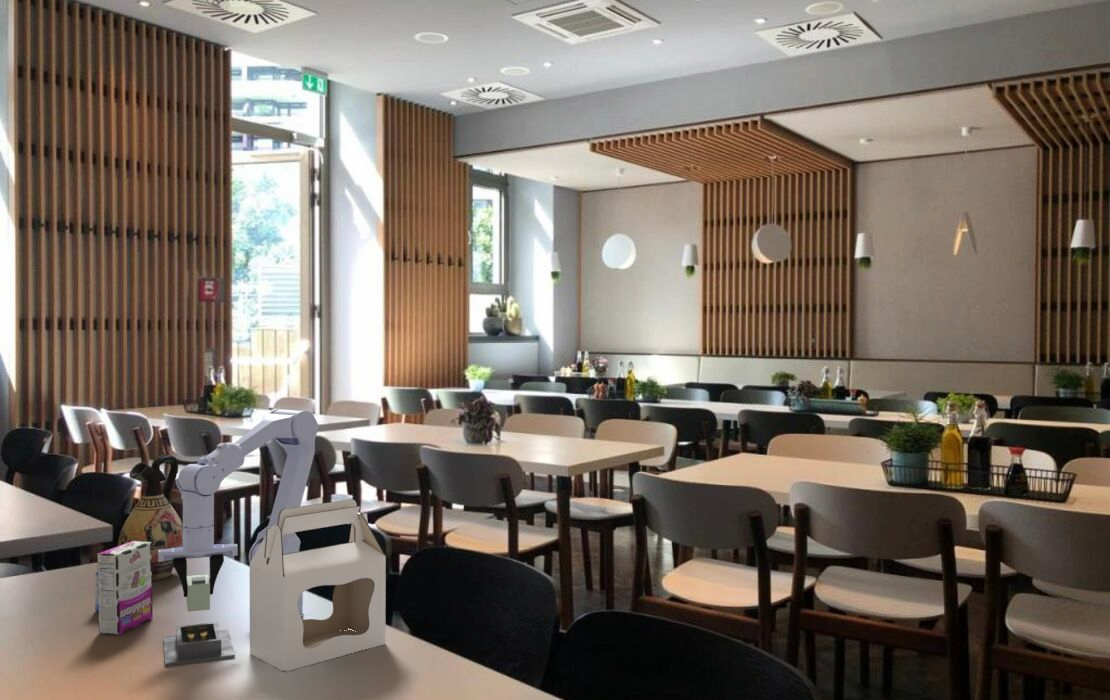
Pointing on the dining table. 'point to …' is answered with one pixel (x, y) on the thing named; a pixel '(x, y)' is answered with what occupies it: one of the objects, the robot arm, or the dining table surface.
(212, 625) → the chassis
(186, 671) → the dining table surface
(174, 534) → the ceramic jug
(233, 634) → the dining table surface
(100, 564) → the candy bar box
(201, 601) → the pale green block
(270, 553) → the gable box
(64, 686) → the dining table surface
